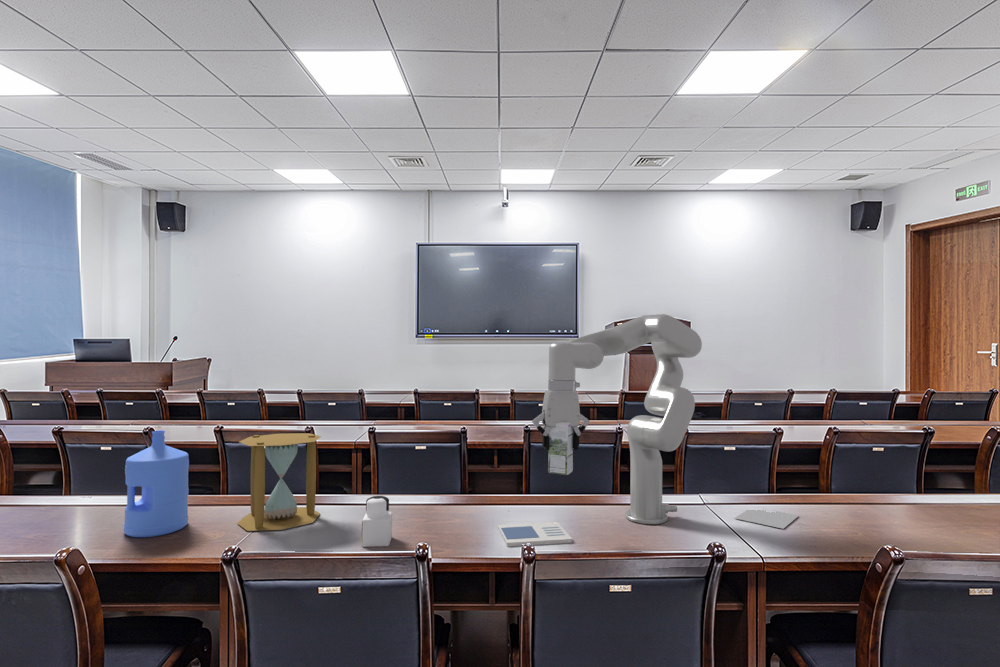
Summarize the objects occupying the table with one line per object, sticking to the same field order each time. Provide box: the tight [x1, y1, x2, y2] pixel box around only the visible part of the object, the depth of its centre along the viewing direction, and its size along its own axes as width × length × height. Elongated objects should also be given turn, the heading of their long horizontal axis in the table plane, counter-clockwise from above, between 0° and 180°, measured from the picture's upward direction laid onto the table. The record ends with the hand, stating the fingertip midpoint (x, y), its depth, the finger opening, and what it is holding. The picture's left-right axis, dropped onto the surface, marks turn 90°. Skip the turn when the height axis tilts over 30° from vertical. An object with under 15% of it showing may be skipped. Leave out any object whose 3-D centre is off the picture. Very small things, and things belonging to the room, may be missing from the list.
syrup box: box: [547, 422, 574, 476], centre depth 151 cm, size 6×6×14 cm
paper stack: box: [734, 509, 799, 529], centre depth 162 cm, size 23×25×1 cm
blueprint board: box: [497, 521, 573, 548], centre depth 152 cm, size 18×14×1 cm
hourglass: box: [237, 432, 322, 532], centre depth 165 cm, size 24×22×25 cm
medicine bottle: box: [361, 495, 393, 548], centre depth 146 cm, size 7×7×12 cm
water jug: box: [123, 430, 190, 538], centre depth 156 cm, size 16×16×28 cm
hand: (560, 449), depth 151 cm, fingers closed on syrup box, 7 cm apart
